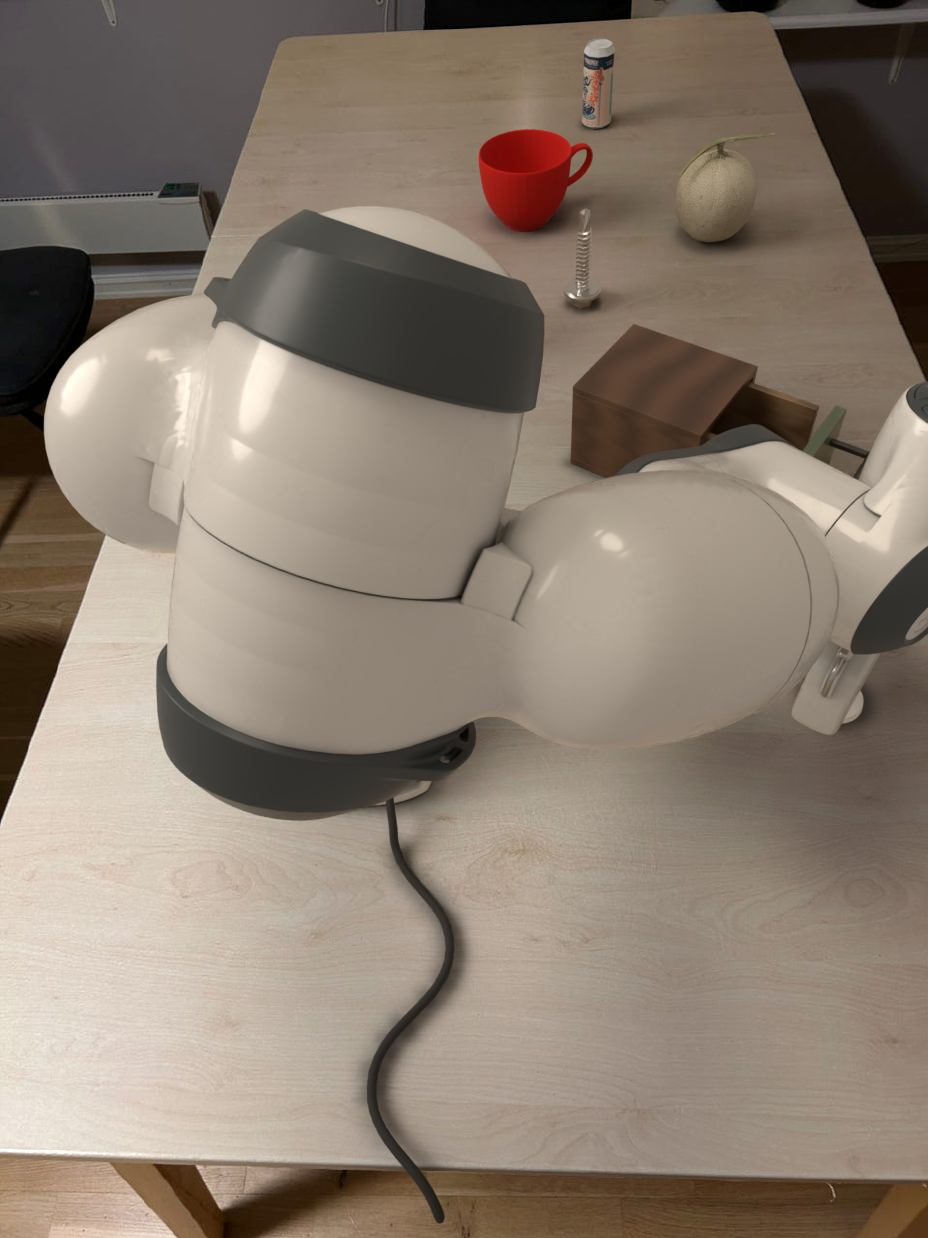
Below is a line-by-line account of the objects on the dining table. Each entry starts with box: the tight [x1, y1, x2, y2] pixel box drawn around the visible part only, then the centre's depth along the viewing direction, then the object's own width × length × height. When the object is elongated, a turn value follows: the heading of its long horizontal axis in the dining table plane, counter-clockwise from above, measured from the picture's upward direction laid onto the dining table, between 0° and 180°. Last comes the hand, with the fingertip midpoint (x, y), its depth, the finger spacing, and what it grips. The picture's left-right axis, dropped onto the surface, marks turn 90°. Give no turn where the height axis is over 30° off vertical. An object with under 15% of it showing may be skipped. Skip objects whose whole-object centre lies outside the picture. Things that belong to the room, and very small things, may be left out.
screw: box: [563, 208, 602, 309], centre depth 118 cm, size 13×5×5 cm
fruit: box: [674, 132, 776, 243], centre depth 125 cm, size 10×12×15 cm
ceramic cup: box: [477, 128, 594, 232], centre depth 133 cm, size 13×17×10 cm
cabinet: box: [570, 323, 759, 478], centre depth 100 cm, size 15×13×11 cm
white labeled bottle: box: [581, 38, 616, 130], centre depth 149 cm, size 5×5×12 cm
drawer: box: [702, 382, 871, 480], centre depth 95 cm, size 19×11×9 cm, turn 54°
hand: (843, 677), depth 81 cm, fingers open, 3 cm apart
